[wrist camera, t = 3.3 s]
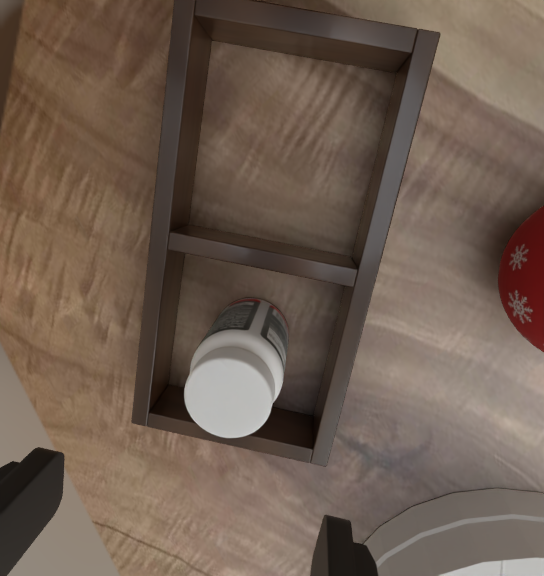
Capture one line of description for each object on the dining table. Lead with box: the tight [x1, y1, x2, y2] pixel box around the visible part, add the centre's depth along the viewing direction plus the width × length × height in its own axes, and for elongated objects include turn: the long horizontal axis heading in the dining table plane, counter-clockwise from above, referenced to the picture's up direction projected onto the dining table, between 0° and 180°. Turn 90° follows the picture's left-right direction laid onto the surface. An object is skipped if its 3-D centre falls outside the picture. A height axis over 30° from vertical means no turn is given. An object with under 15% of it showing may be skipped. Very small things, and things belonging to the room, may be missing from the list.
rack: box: [132, 0, 440, 467], centre depth 23 cm, size 12×23×4 cm, turn 169°
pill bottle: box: [184, 298, 289, 438], centre depth 22 cm, size 5×5×8 cm
